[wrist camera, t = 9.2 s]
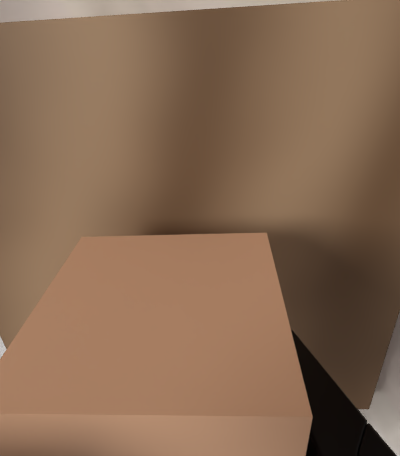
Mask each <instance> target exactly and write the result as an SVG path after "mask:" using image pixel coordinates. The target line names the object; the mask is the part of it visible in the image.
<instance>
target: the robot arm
mask: <svg viewBox="0 0 400 456" xmlns="http://www.w3.org/2000/svg"><path fill="white" fill-rule="evenodd" d="M291 332H292V336H293V340H294V344H295V348H296V352H297V356H298V360H299V364H300V368H301V372H302V376H303V380H304V384H305V388H306V392H307V396H308V400H309V404H310V408H311V412H312V416H313V418H312V423H311V429H310V434H309V440H308V445H307V451H306V456H397V455H396V454H395V453H394V452H393V451H392V450H391V449H390V447H389V446H388V445H387V444H386V443H385V442H384V440H383V439H382V438H381V437H380V436H379V434H378V433H377V432H376V431H375V429H374V428H373V427H372V426H371V425H370V424H369V423H368V424H367V420H366V419H365V417H364V416H363V415H362V414H361V413H360V411H359V410H358V409H357V408H356V407H355V405H354V404H353V403H352V402H351V400H350V399H349V398H348V397H347V396H346V394H345V393H344V392H343V391H342V390H341V388H340V387H339V386H338V385H337V383H336V382H335V381H334V380H333V379H332V377H331V376H330V375H329V374H328V373H327V371H326V370H325V369H324V368H323V366H322V365H321V364H320V363H319V362H318V360H317V359H316V358H315V357H314V355H313V354H312V353H311V352H310V351H309V349H308V348H307V347H306V346H305V345H304V343H303V342H302V341H301V340H300V338H299V337H298V336H297V335H296V334H295V332H294V331H293V330H292V329H291ZM366 424H367V425H366Z"/></svg>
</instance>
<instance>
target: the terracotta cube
mask: <svg viewBox="0 0 400 456" xmlns="http://www.w3.org/2000/svg"><path fill="white" fill-rule="evenodd" d="M312 418H313V416H312V412H311V408H310V404H309V400H308V396H307V392H306V388H305V384H304V380H303V376H302V372H301V368H300V364H299V360H298V356H297V352H296V348H295V344H294V340H293V336H292V332H291V328H290V324H289V320H288V316H287V312H286V308H285V304H284V300H283V296H282V292H281V288H280V284H279V280H278V276H277V272H276V268H275V264H274V260H273V256H272V252H271V248H270V244H269V240H268V236H267V233H227V234H184V235H141V236H98V237H81V239H80V240H79V242H78V243H77V245H76V246H75V248H74V249H73V251H72V252H71V254H70V255H69V257H68V258H67V260H66V261H65V263H64V264H63V266H62V267H61V269H60V270H59V272H58V273H57V275H56V276H55V278H54V279H53V281H52V282H51V284H50V285H49V287H48V288H47V290H46V291H45V293H44V294H43V296H42V297H41V299H40V300H39V302H38V303H37V305H36V306H35V308H34V309H33V311H32V312H31V314H30V315H29V317H28V318H27V320H26V321H25V323H24V324H23V326H22V327H21V329H20V330H19V332H18V333H17V335H16V336H15V338H14V339H13V341H12V342H11V344H10V345H9V347H8V348H7V350H6V351H5V353H4V354H3V356H2V357H1V359H0V456H306V451H307V445H308V440H309V434H310V429H311V423H312Z"/></svg>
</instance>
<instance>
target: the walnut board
mask: <svg viewBox="0 0 400 456" xmlns="http://www.w3.org/2000/svg"><path fill="white" fill-rule="evenodd" d="M227 233H267V236H268V240H269V244H270V248H271V252H272V256H273V260H274V264H275V268H276V272H277V276H278V280H279V284H280V288H281V292H282V296H283V300H284V304H285V308H286V312H287V316H288V320H289V324H290V328H291V329H292V330H293V331H294V332H295V334H296V335H297V336H298V337H299V338H300V340H301V341H302V342H303V343H304V345H305V346H306V347H307V348H308V349H309V351H310V352H311V353H312V354H313V355H314V357H315V358H316V359H317V360H318V362H319V363H320V364H321V365H322V366H323V368H324V369H325V370H326V371H327V373H328V374H329V375H330V376H331V377H332V379H333V380H334V381H335V382H336V383H337V385H338V386H339V387H340V388H341V390H342V391H343V392H344V393H345V394H346V396H347V397H348V398H349V399H350V400H351V402H352V403H353V404H354V405H355V407H356V408H357V409H369V407H370V404H371V401H372V397H373V394H374V391H375V388H376V385H377V381H378V378H379V375H380V372H381V368H382V365H383V362H384V359H385V356H386V352H387V349H388V346H389V343H390V340H391V336H392V333H393V330H394V327H395V323H396V320H397V317H398V314H399V311H400V0H340V1H324V2H309V3H294V4H279V5H263V6H248V7H233V8H218V9H203V10H187V11H172V12H157V13H142V14H126V15H111V16H96V17H81V18H65V19H50V20H35V21H20V22H5V23H0V336H1V338H2V340H3V342H4V345H5V347H6V349H7V348H8V347H9V345H10V344H11V342H12V341H13V339H14V338H15V336H16V335H17V333H18V332H19V330H20V329H21V327H22V326H23V324H24V323H25V321H26V320H27V318H28V317H29V315H30V314H31V312H32V311H33V309H34V308H35V306H36V305H37V303H38V302H39V300H40V299H41V297H42V296H43V294H44V293H45V291H46V290H47V288H48V287H49V285H50V284H51V282H52V281H53V279H54V278H55V276H56V275H57V273H58V272H59V270H60V269H61V267H62V266H63V264H64V263H65V261H66V260H67V258H68V257H69V255H70V254H71V252H72V251H73V249H74V248H75V246H76V245H77V243H78V242H79V240H80V239H81V237H98V236H141V235H184V234H227Z"/></svg>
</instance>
